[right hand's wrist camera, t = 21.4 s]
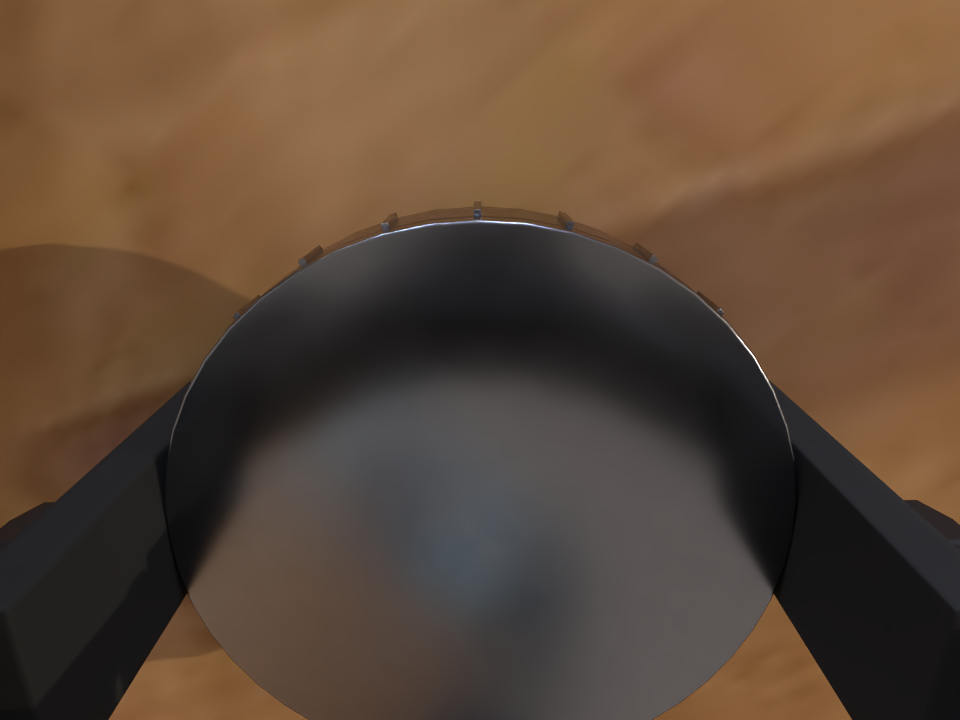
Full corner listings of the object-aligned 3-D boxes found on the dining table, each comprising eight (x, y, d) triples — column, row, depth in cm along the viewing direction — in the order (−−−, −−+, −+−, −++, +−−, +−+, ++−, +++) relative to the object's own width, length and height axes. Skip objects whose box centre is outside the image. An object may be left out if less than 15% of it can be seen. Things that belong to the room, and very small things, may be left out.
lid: (817, 605, 13) (860, 667, 11) (356, 751, 14) (342, 824, 13) (661, 94, 10) (694, 89, 8) (88, 346, 11) (26, 382, 9)
